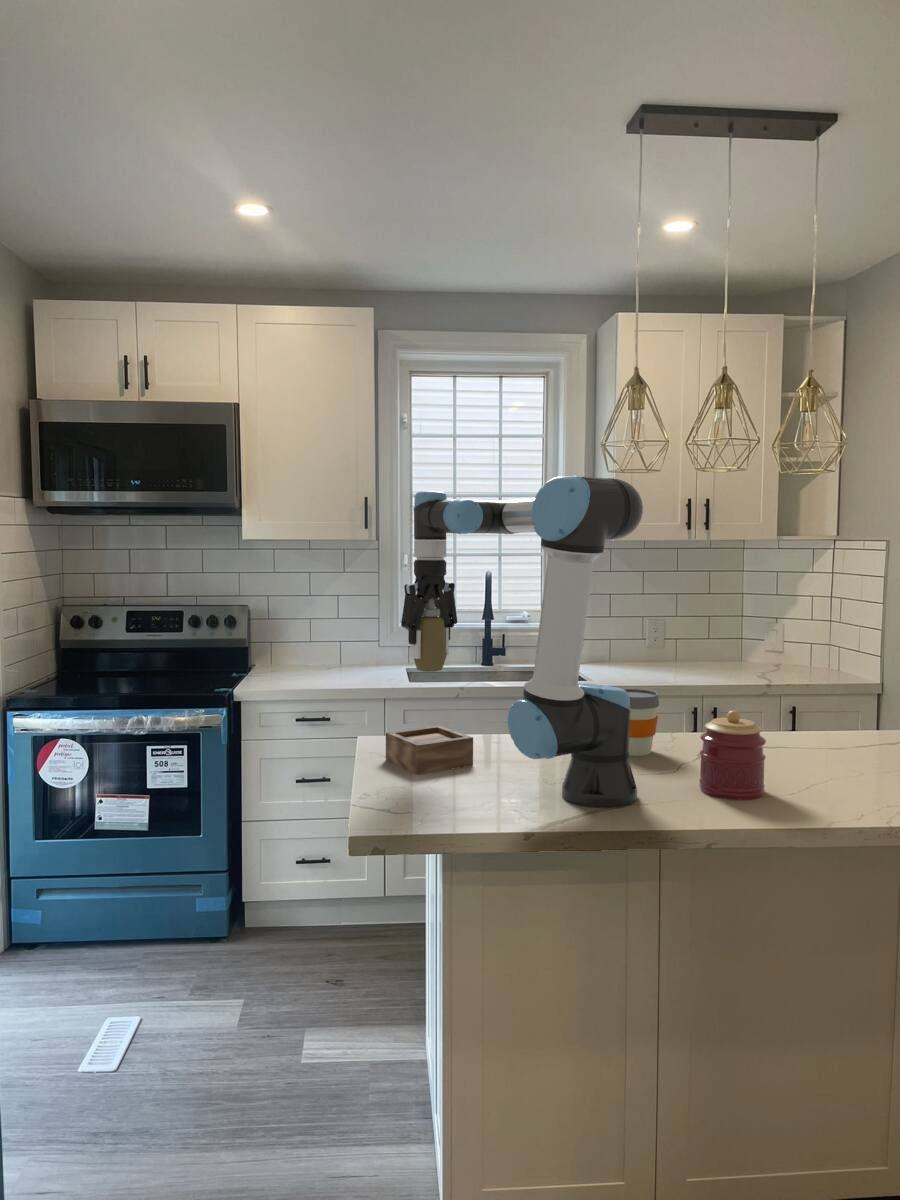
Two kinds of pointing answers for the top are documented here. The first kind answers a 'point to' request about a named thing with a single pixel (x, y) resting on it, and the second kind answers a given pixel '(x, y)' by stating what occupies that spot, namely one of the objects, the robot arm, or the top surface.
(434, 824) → the top surface
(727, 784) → the canister
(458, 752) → the walnut tray
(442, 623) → the squeeze bottle
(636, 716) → the reusable coffee cup
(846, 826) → the top surface
